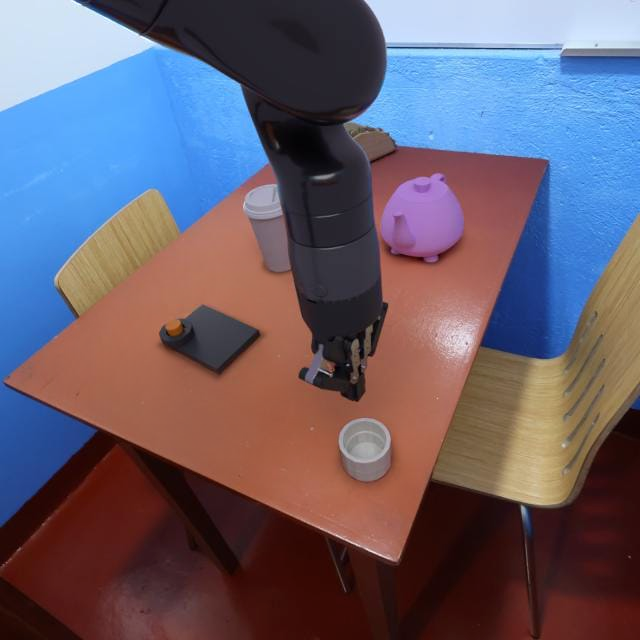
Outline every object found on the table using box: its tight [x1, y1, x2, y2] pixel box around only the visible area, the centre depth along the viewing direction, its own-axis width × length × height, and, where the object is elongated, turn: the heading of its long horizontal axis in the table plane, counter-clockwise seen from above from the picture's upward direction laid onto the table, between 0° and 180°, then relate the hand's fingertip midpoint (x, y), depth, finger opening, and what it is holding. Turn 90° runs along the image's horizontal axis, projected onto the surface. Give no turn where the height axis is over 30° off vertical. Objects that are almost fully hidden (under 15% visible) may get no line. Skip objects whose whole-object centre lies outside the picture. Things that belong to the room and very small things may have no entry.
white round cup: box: [338, 417, 393, 483], centre depth 58 cm, size 6×6×5 cm
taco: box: [344, 121, 398, 163], centre depth 117 cm, size 10×27×10 cm, turn 125°
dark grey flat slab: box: [158, 303, 261, 376], centre depth 79 cm, size 11×14×3 cm
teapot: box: [379, 172, 465, 263], centre depth 87 cm, size 22×16×14 cm
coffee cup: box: [242, 183, 291, 273], centre depth 89 cm, size 10×10×15 cm
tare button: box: [165, 318, 184, 336], centre depth 79 cm, size 3×3×2 cm
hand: (353, 394), depth 52 cm, fingers closed
